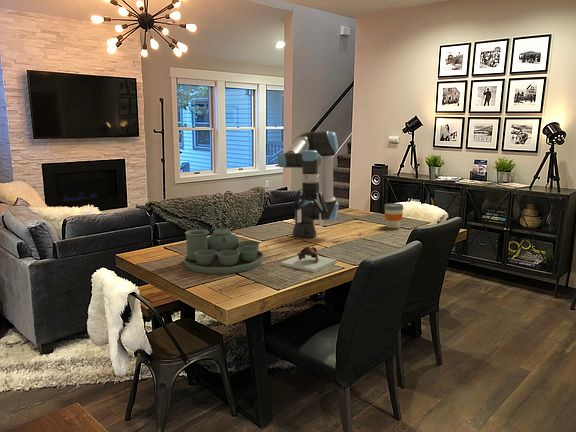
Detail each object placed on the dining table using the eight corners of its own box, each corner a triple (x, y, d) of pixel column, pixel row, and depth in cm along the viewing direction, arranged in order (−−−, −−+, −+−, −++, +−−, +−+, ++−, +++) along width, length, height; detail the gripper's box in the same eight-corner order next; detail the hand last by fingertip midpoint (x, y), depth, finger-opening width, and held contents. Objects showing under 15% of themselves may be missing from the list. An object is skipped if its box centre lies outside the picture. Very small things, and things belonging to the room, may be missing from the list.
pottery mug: (316, 265, 224) (307, 251, 222) (301, 271, 229) (292, 257, 228) (324, 253, 234) (316, 240, 232) (310, 259, 239) (302, 246, 238)
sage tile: (281, 265, 230) (281, 262, 229) (304, 256, 245) (304, 253, 245) (314, 272, 217) (314, 269, 217) (336, 262, 233) (336, 259, 233)
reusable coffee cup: (405, 225, 316) (406, 204, 313) (399, 229, 305) (399, 206, 303) (387, 223, 322) (388, 202, 320) (380, 227, 312) (381, 205, 309)
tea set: (207, 280, 208) (206, 245, 205) (172, 260, 240) (170, 229, 237) (279, 264, 231) (278, 232, 228) (238, 248, 263) (237, 220, 260)
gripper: (285, 181, 232) (286, 222, 237) (327, 184, 217) (326, 228, 222) (294, 179, 238) (294, 219, 242) (335, 183, 223) (335, 225, 227)
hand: (310, 224), depth 232 cm, fingers open, 13 cm apart
